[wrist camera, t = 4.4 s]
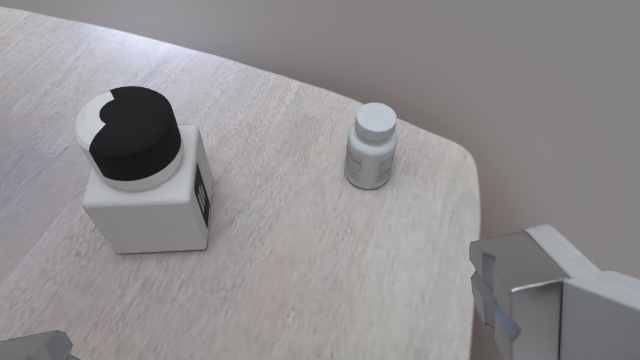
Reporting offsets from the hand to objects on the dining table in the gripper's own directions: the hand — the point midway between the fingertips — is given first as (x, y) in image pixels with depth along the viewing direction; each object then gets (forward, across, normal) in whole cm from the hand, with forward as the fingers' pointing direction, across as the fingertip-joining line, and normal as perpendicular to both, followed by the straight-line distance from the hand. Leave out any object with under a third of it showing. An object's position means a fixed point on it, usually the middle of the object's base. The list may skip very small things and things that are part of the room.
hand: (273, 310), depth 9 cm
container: (+30, +13, +12) cm, 35 cm away
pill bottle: (+33, -6, +13) cm, 36 cm away
